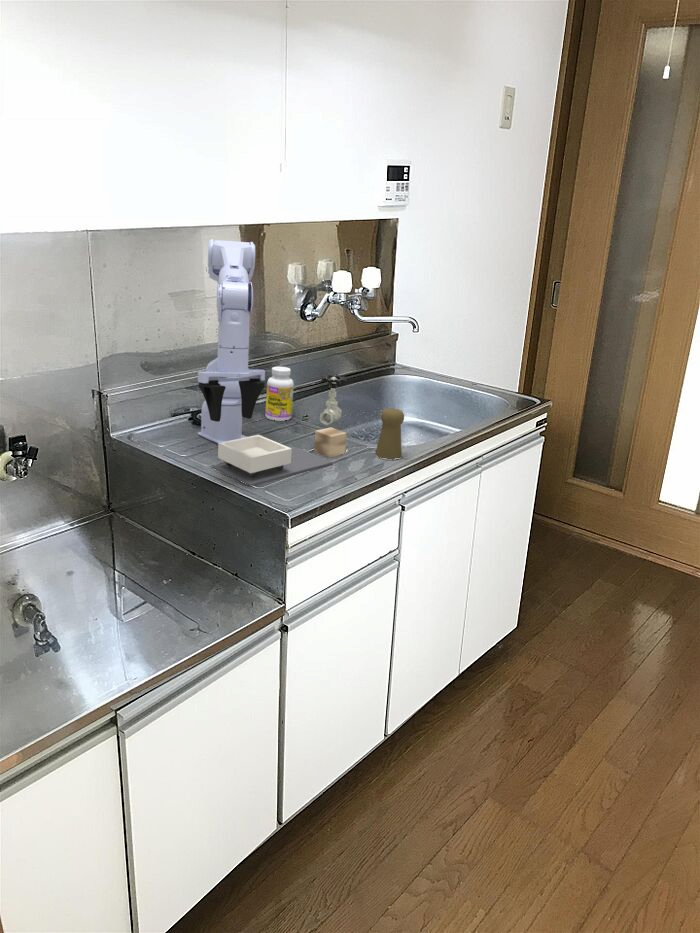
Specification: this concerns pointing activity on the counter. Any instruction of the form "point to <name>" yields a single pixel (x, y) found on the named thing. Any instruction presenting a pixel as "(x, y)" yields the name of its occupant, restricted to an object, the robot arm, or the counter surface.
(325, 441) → the wooden block
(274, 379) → the supplement bottle
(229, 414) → the robot arm
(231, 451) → the white square tray
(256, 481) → the flat gray panel
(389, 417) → the cork
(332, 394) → the valve
